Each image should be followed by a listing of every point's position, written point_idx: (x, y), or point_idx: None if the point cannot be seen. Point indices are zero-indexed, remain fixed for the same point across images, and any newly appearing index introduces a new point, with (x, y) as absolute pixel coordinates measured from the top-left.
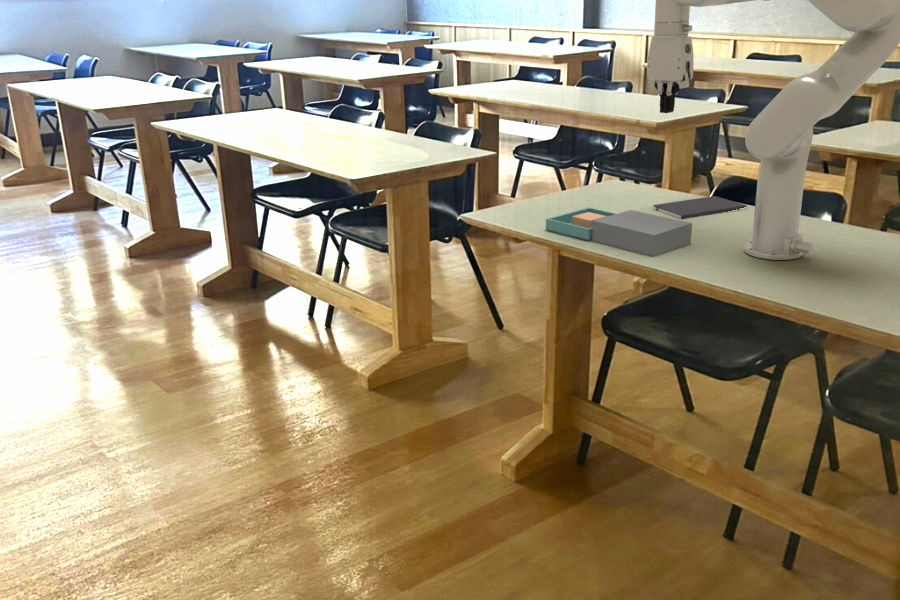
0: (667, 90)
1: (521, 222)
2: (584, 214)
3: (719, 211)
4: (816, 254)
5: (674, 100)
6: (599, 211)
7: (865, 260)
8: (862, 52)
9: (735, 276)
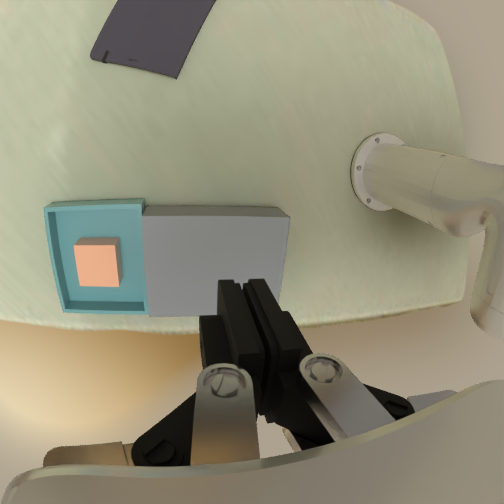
0: (298, 445)
1: (19, 292)
2: (82, 263)
3: (213, 3)
4: None
5: (303, 341)
6: (70, 210)
7: (450, 143)
8: None
9: (373, 283)
